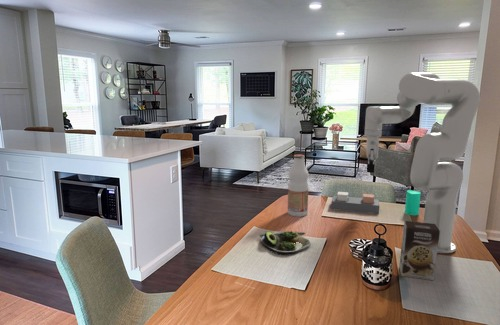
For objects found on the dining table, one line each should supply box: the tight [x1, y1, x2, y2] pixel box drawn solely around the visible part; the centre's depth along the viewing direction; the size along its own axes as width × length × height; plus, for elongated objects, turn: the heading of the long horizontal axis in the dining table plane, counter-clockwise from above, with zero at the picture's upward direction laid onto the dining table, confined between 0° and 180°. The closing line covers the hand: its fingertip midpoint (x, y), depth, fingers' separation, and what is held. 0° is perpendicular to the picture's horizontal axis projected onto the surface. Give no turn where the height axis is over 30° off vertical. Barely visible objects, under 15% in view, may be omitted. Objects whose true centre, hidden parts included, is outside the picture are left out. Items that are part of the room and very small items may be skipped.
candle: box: [404, 189, 422, 216], centre depth 157 cm, size 6×6×12 cm
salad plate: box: [258, 230, 312, 256], centre depth 126 cm, size 19×18×5 cm
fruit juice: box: [287, 154, 310, 217], centre depth 155 cm, size 9×9×28 cm
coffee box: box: [398, 220, 440, 281], centre depth 103 cm, size 9×6×16 cm
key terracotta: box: [362, 193, 375, 204], centre depth 163 cm, size 5×5×4 cm
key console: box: [330, 195, 381, 215], centre depth 165 cm, size 22×10×4 cm, turn 72°
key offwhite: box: [336, 191, 349, 201], centre depth 166 cm, size 5×5×4 cm
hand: (370, 170), depth 160 cm, fingers open, 4 cm apart
